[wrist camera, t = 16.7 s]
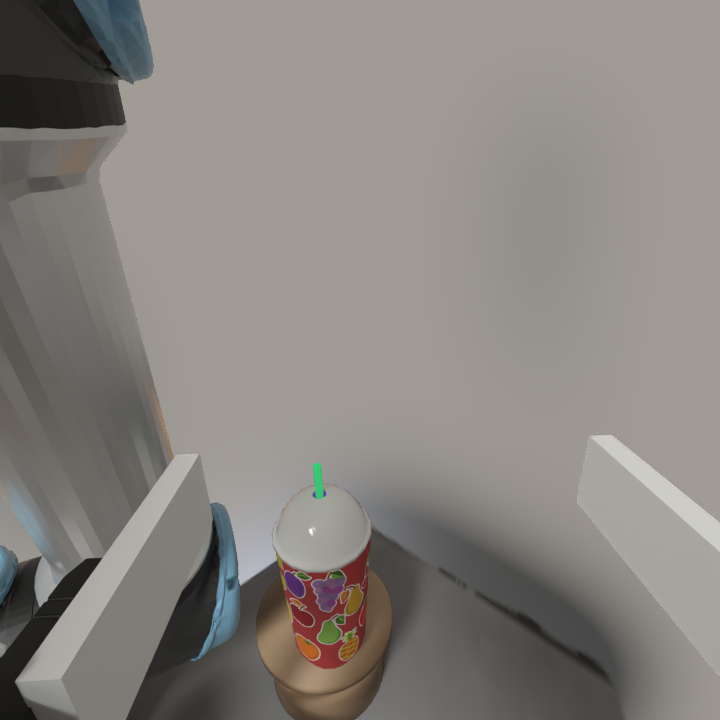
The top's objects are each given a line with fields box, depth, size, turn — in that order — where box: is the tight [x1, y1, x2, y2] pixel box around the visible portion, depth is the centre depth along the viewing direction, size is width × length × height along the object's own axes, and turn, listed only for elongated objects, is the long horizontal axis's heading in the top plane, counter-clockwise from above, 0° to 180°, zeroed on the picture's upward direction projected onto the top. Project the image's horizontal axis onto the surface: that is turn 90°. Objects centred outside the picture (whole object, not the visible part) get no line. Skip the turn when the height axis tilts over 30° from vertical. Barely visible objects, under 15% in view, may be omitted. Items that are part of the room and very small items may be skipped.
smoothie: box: [272, 463, 371, 669], centre depth 34 cm, size 8×8×20 cm
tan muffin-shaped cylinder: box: [256, 568, 392, 720], centre depth 41 cm, size 14×14×8 cm
